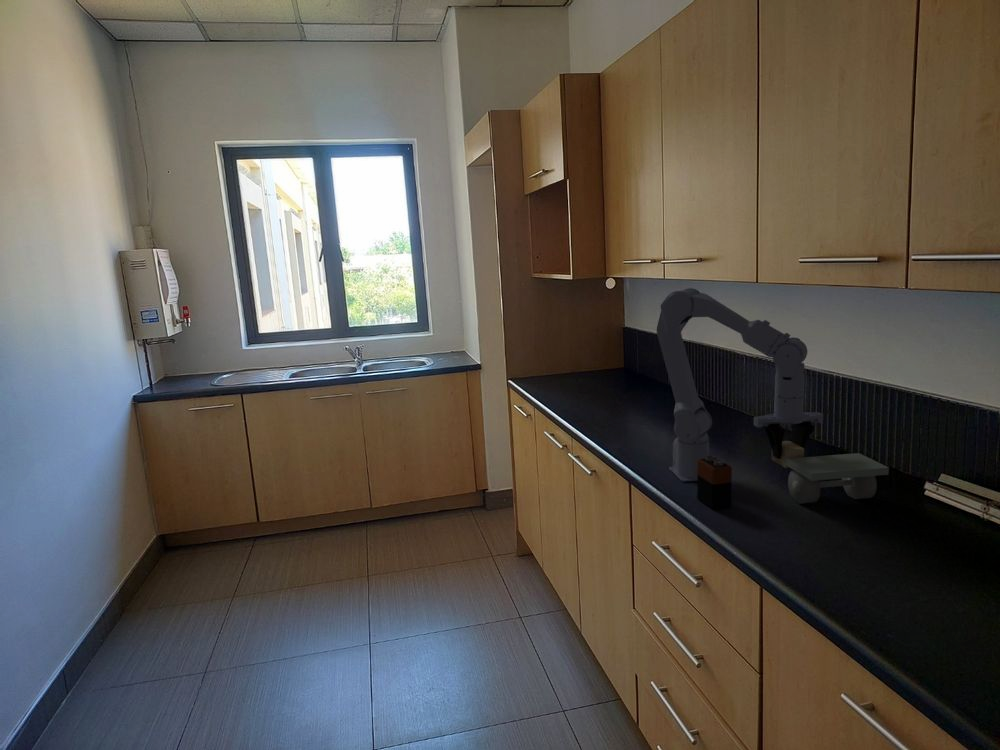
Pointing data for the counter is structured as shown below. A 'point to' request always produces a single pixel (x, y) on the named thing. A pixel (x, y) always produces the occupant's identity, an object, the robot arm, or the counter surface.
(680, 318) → the robot arm
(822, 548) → the counter surface
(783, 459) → the chock
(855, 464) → the trolley
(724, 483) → the battery
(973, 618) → the counter surface
